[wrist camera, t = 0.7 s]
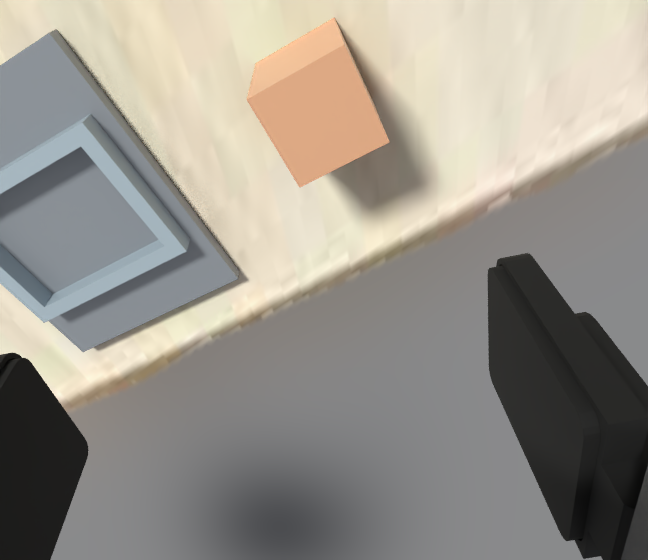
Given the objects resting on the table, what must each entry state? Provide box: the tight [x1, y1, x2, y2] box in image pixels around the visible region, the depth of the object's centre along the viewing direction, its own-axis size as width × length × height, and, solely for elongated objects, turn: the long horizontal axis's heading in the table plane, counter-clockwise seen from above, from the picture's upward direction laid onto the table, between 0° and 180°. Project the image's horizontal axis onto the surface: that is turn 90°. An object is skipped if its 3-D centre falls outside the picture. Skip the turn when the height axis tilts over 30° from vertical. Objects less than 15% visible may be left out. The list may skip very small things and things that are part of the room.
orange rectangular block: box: [247, 18, 389, 187], centre depth 28 cm, size 5×5×7 cm
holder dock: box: [0, 30, 239, 352], centre depth 34 cm, size 14×18×2 cm
